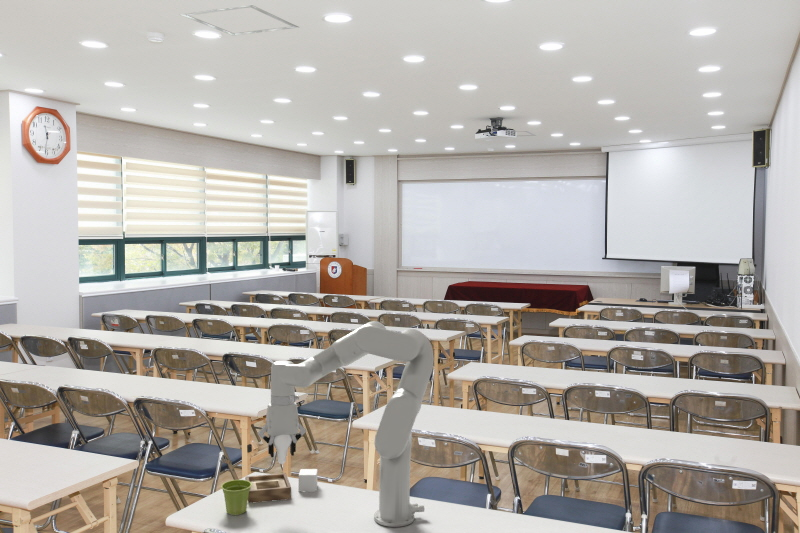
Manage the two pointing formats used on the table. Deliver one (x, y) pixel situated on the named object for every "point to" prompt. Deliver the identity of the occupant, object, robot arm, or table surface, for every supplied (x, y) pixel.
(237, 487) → the plant pot
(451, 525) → the table surface
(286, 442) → the lightbulb
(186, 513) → the table surface
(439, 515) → the table surface
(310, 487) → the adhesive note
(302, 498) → the table surface
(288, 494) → the socket box
